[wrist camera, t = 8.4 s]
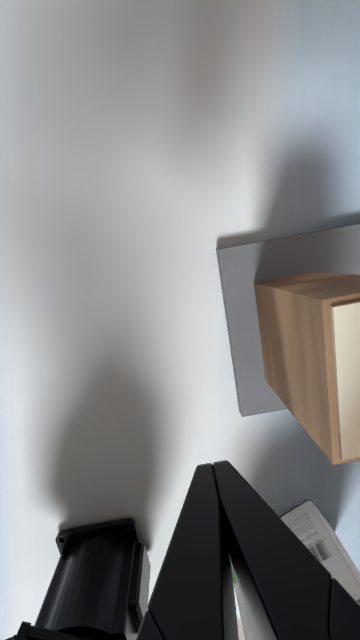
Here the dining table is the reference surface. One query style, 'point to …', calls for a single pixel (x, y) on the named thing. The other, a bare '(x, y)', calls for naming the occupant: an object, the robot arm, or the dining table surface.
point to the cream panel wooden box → (315, 355)
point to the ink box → (315, 552)
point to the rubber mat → (240, 303)
